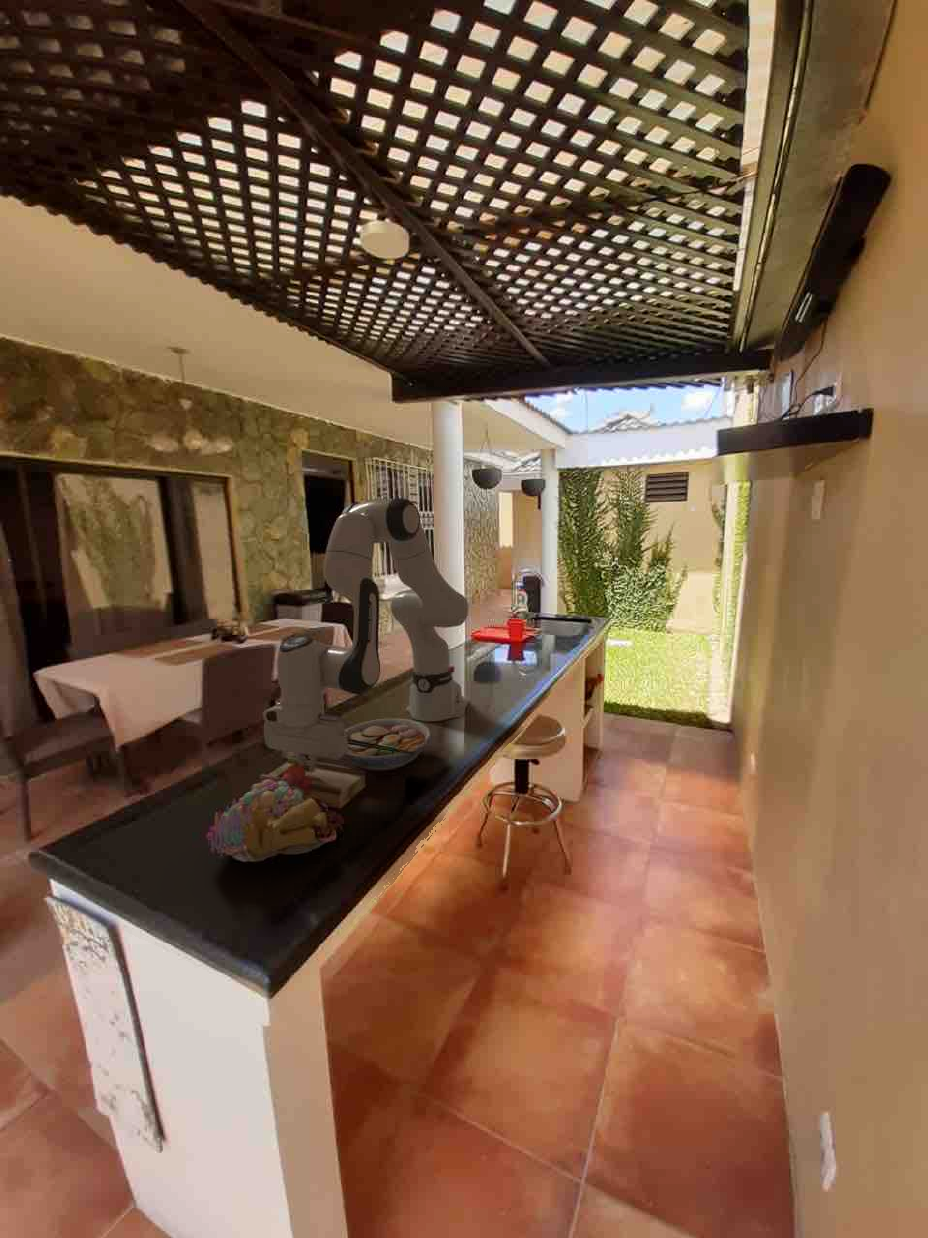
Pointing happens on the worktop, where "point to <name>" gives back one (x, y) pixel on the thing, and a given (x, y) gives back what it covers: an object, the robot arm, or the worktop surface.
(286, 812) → the pastel sphere sculpture
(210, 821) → the worktop surface
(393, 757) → the ramen bowl
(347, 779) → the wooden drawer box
